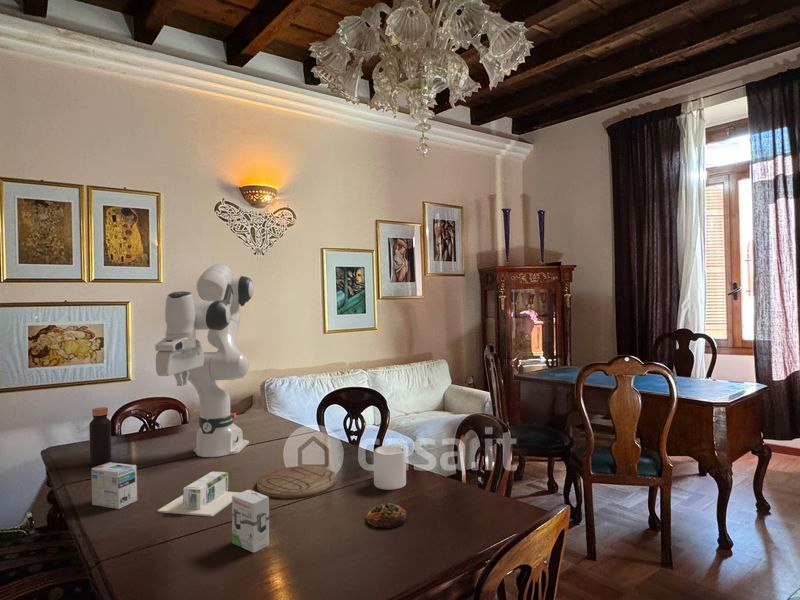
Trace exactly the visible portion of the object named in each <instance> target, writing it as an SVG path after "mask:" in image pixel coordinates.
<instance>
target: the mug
mask: <svg viewBox="0 0 800 600" xmlns="http://www.w3.org/2000/svg"><path fill="white" fill-rule="evenodd" d="M406 454H407V452H406V448H405V447H402V446H400V445H382V446H378V447H376V448H374V450H373V485H374V487H376V488H377V489H381V490H398V489H401V488H404V487H405V486H406V484H407V466H406V465H407V463H406V462H407V461H406V460H407V459H406V458H407V457H406Z"/></svg>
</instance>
